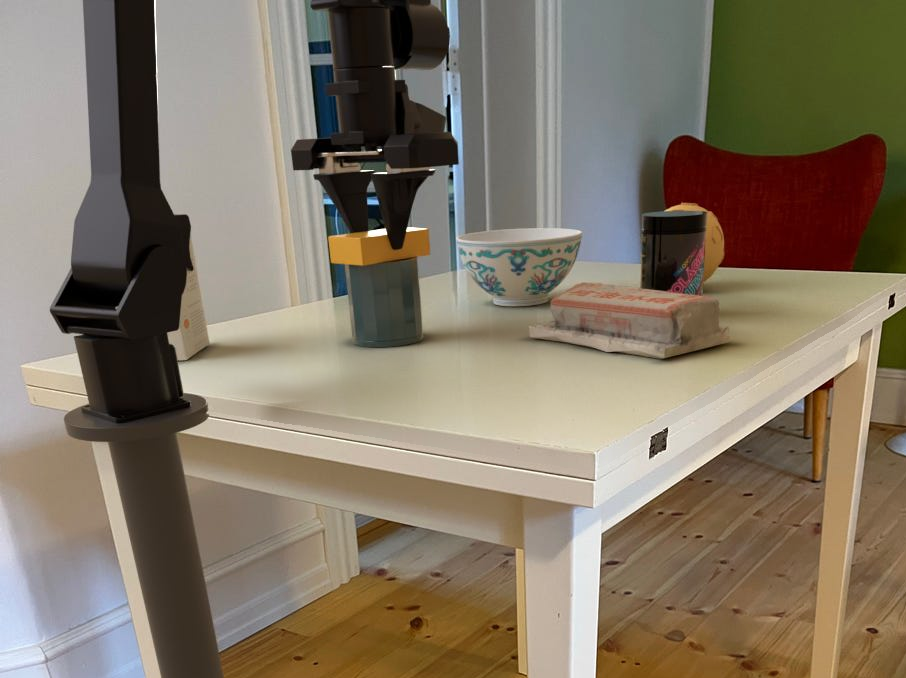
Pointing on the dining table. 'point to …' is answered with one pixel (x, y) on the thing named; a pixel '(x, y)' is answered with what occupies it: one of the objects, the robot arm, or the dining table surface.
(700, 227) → the supplement container
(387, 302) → the cup
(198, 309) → the small box
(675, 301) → the packaged product
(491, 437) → the dining table surface
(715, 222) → the stress ball
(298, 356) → the dining table surface
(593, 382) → the dining table surface
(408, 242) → the orange flat block
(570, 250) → the chinaware
